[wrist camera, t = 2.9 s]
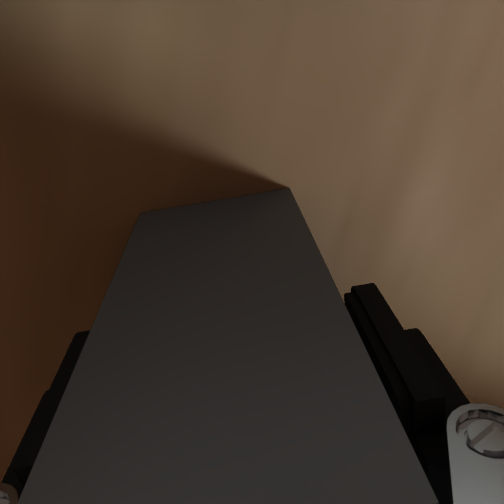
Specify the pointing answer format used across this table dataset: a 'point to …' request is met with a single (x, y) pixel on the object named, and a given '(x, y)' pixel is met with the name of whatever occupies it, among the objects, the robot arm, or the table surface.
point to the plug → (225, 376)
